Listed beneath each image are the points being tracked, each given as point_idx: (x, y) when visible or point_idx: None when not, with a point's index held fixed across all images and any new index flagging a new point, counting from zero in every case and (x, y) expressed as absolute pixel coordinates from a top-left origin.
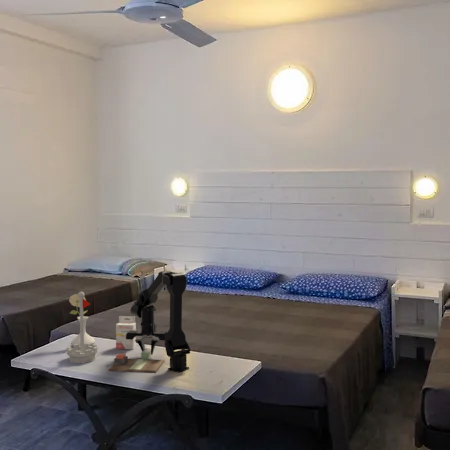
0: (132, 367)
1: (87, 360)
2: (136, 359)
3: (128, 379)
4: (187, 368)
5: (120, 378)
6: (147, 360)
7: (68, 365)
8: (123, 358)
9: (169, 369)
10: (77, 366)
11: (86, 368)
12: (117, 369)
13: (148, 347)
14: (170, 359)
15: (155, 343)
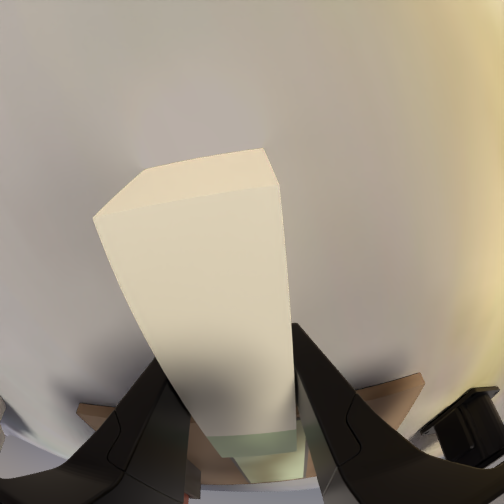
0: (256, 477)
1: (3, 411)
2: (200, 429)
3: (284, 490)
4: (490, 397)
5: (254, 491)
6: (299, 430)
7: (7, 423)
8: (188, 498)
9: (426, 432)
10: (33, 435)
11: (73, 453)
12: (201, 483)
13: (167, 301)
14: (446, 457)
15: (386, 452)
